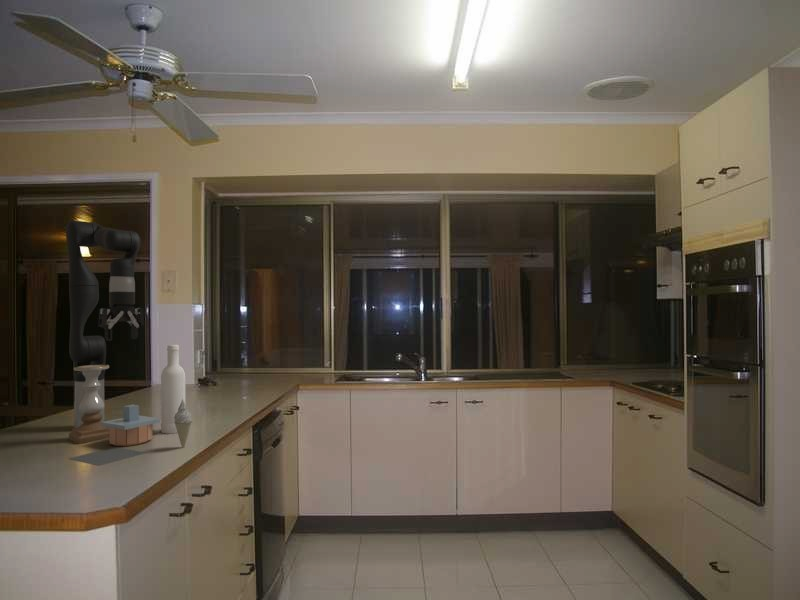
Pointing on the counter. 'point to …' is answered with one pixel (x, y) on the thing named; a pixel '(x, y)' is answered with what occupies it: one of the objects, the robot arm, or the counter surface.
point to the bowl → (130, 435)
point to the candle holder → (90, 408)
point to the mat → (107, 456)
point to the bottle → (171, 390)
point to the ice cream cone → (182, 423)
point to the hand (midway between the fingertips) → (121, 339)
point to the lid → (130, 419)
